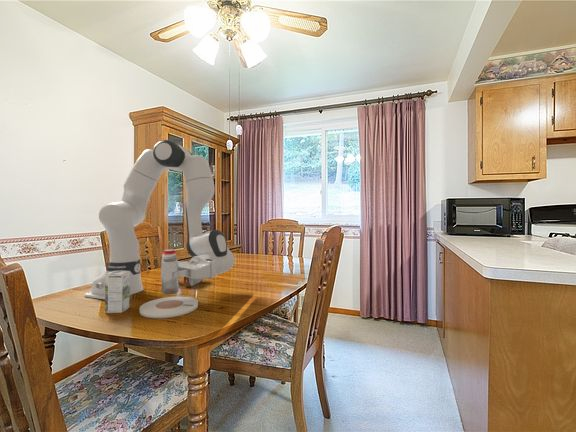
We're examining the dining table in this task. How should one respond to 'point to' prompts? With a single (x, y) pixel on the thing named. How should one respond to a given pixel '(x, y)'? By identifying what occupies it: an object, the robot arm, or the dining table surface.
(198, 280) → the tin
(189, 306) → the disc
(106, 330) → the dining table surface
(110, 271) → the robot arm
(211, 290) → the dining table surface
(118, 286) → the syrup box
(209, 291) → the dining table surface
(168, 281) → the white drink can
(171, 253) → the beer can
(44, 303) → the dining table surface
